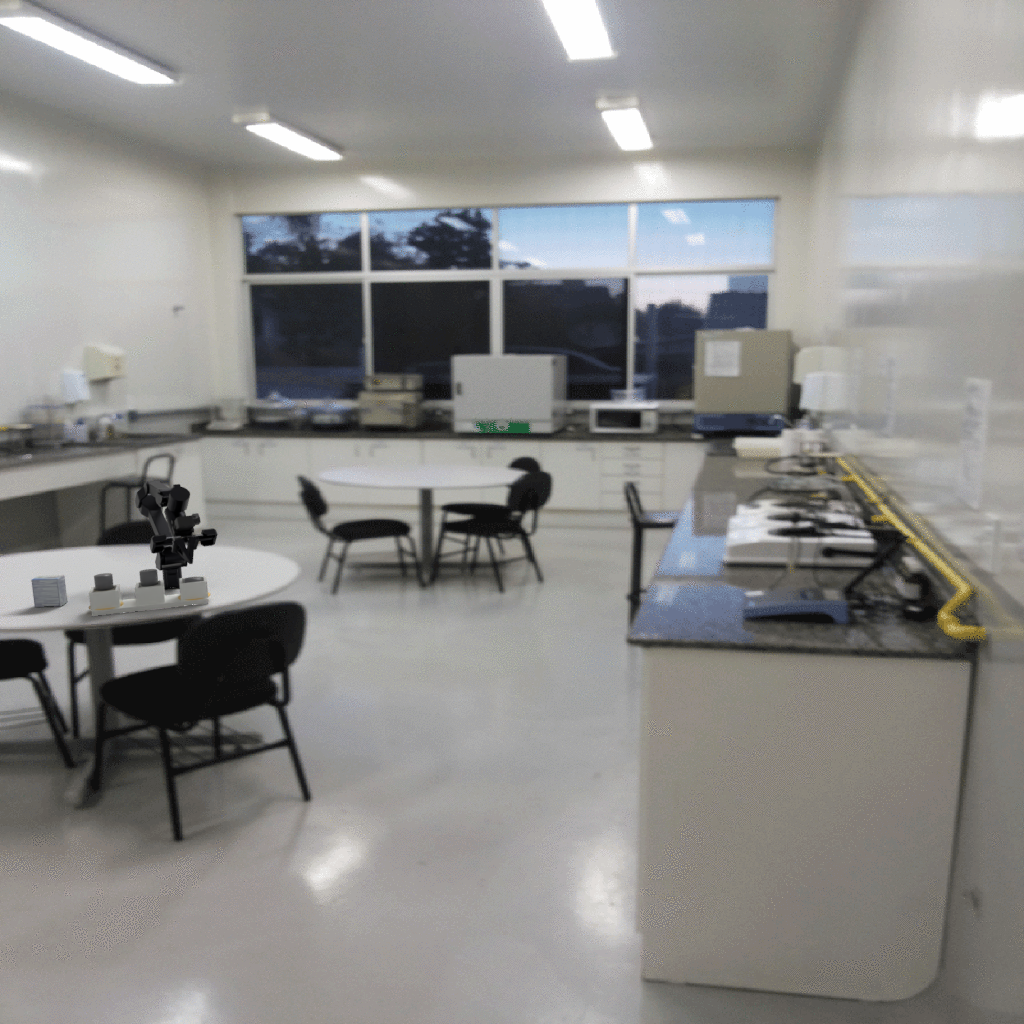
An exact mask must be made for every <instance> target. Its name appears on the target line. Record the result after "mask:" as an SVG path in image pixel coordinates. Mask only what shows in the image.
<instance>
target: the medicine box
mask: <svg viewBox="0 0 1024 1024" xmlns="http://www.w3.org/2000/svg"><path fill="white" fill-rule="evenodd" d="M65 577H66V576H65V575H64V574H61V575H60V574H55V575H54V574H52V575H37V576H36V577H33V578H32V579H30V581H31V588H32V589H31V590H32V597H33V604H34V605H33V606H34V608H45V607H44V606H54V607H62V605H63V606H64V605H65V603H66V604H67V603H68V602H69V601H68V593H67V585H66V578H65Z"/></svg>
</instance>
